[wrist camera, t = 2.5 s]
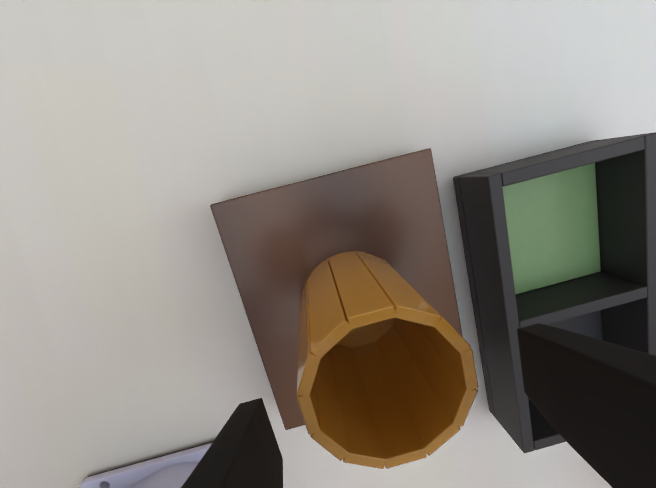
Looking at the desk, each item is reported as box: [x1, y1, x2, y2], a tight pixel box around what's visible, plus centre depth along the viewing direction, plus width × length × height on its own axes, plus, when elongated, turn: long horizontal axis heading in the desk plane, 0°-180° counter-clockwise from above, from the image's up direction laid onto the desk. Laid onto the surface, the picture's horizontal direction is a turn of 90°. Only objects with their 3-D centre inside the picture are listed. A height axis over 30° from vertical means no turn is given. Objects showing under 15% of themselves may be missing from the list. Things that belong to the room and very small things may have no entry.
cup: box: [297, 251, 478, 469], centre depth 12 cm, size 5×5×6 cm
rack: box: [453, 133, 656, 453], centre depth 16 cm, size 8×15×3 cm, turn 14°
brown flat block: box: [210, 148, 463, 430], centre depth 16 cm, size 10×12×2 cm
